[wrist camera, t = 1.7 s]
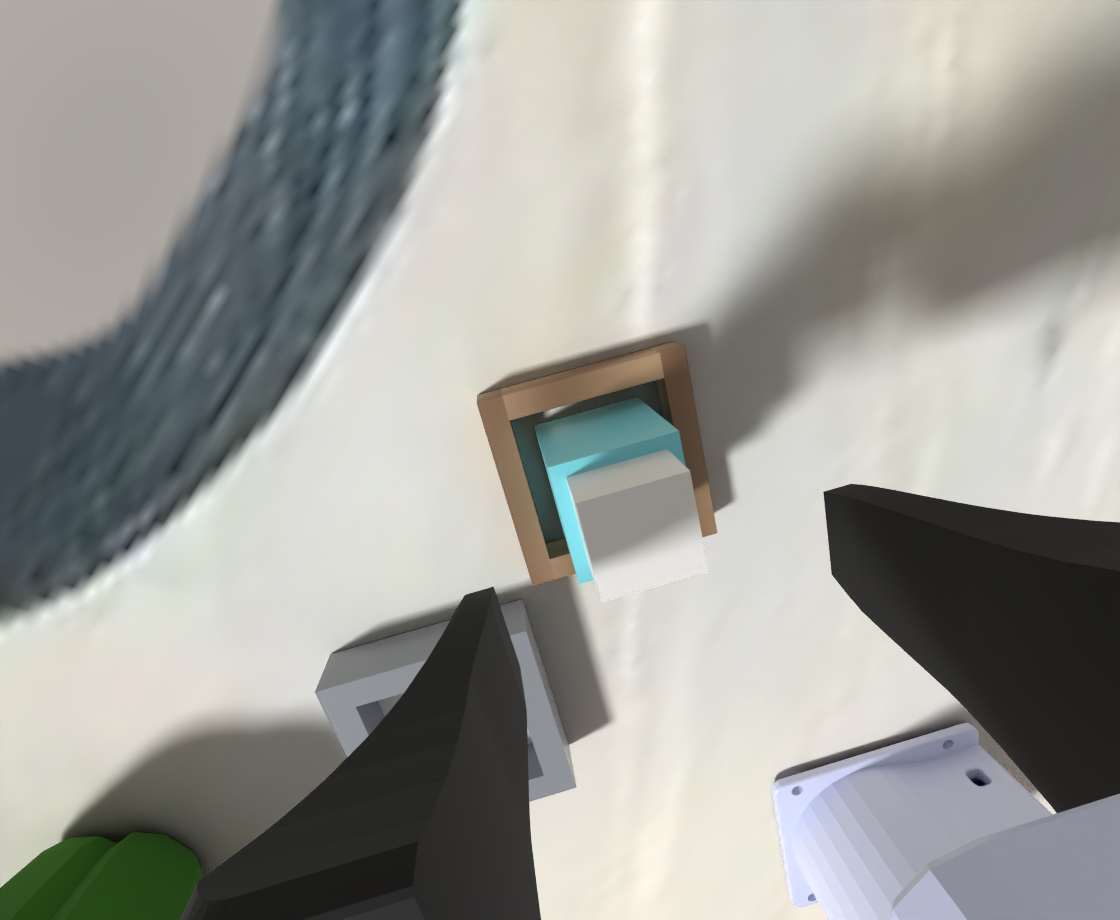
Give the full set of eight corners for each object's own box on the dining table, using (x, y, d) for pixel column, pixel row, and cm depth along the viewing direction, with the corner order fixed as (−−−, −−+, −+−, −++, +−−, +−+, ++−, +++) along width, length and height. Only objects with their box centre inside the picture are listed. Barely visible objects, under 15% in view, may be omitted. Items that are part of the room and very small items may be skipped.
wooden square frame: (672, 341, 19) (684, 346, 18) (704, 518, 21) (717, 533, 20) (477, 395, 18) (476, 402, 17) (530, 568, 21) (532, 586, 20)
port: (522, 598, 21) (526, 636, 19) (568, 745, 23) (577, 794, 21) (330, 654, 21) (312, 698, 19) (397, 797, 23) (388, 851, 21)
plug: (637, 396, 19) (703, 450, 13) (657, 492, 20) (726, 580, 15) (533, 425, 19) (555, 492, 13) (560, 520, 20) (590, 620, 14)
